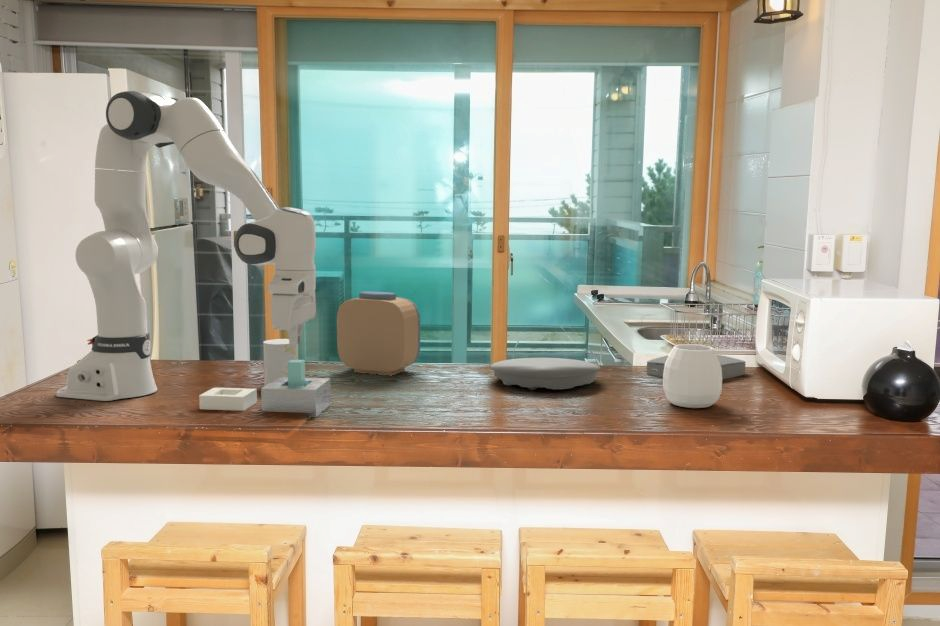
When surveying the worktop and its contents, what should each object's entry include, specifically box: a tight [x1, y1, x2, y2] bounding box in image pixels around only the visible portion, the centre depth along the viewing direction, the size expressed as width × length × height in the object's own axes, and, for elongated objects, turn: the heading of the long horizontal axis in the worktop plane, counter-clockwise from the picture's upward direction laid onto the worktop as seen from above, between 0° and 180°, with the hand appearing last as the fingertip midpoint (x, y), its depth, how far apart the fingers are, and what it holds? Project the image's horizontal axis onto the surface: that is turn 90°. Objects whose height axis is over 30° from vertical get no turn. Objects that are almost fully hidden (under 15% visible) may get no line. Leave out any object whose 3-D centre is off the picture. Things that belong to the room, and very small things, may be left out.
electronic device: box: [646, 354, 747, 381], centre depth 233 cm, size 19×22×5 cm
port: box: [260, 377, 332, 418], centre depth 191 cm, size 12×12×6 cm
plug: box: [288, 359, 306, 386], centre depth 191 cm, size 3×3×10 cm
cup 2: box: [662, 343, 723, 409], centre depth 197 cm, size 13×13×14 cm
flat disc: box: [490, 357, 601, 391], centre depth 221 cm, size 28×28×4 cm
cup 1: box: [263, 338, 299, 386], centre depth 211 cm, size 8×8×12 cm
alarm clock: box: [336, 291, 421, 377], centre depth 232 cm, size 21×10×22 cm, turn 66°
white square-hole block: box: [198, 387, 258, 412], centre depth 191 cm, size 10×8×4 cm
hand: (295, 344), depth 191 cm, fingers closed
